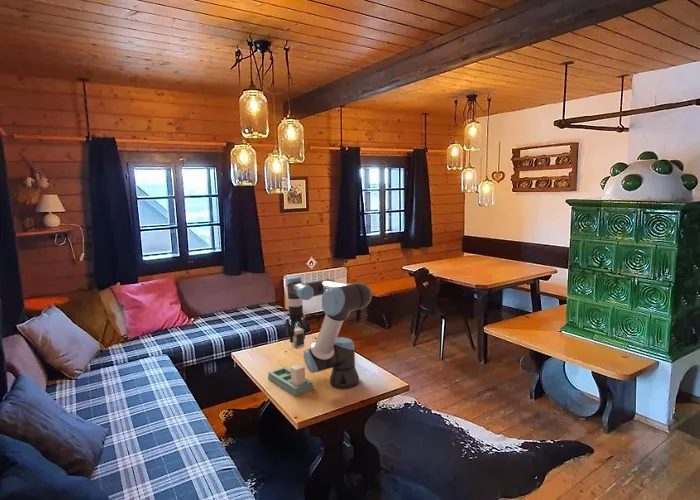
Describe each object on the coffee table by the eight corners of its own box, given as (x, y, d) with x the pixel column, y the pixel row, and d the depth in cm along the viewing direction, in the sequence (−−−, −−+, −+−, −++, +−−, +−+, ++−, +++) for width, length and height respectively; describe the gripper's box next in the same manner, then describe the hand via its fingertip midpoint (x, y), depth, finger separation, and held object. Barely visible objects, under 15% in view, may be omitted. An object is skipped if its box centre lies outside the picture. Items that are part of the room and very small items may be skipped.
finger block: (304, 347, 236) (303, 329, 235) (297, 349, 233) (295, 331, 232) (299, 344, 241) (298, 326, 239) (291, 346, 238) (290, 329, 236)
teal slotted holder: (313, 389, 219) (312, 366, 217) (295, 396, 212) (293, 373, 210) (286, 373, 239) (284, 352, 237) (268, 379, 232) (266, 358, 230)
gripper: (306, 300, 242) (308, 340, 246) (277, 307, 231) (279, 348, 235) (313, 303, 236) (315, 343, 240) (284, 310, 225) (286, 352, 229)
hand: (297, 346), depth 237 cm, fingers closed on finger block, 5 cm apart
